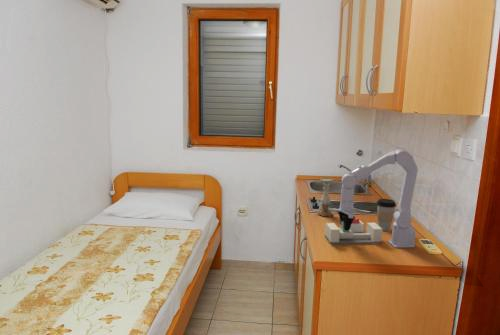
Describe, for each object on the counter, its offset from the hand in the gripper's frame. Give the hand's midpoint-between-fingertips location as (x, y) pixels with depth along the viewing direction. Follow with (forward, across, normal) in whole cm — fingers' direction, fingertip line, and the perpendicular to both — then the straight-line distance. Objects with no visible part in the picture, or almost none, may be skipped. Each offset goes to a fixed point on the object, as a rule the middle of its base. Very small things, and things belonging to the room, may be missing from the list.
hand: (345, 228), depth 185 cm
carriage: (+4, 0, 0) cm, 4 cm away
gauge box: (+6, -12, +8) cm, 16 cm away
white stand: (+6, 0, +4) cm, 7 cm away
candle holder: (+6, -39, +1) cm, 40 cm away
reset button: (+2, -12, +8) cm, 15 cm away
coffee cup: (+6, -14, +25) cm, 29 cm away
